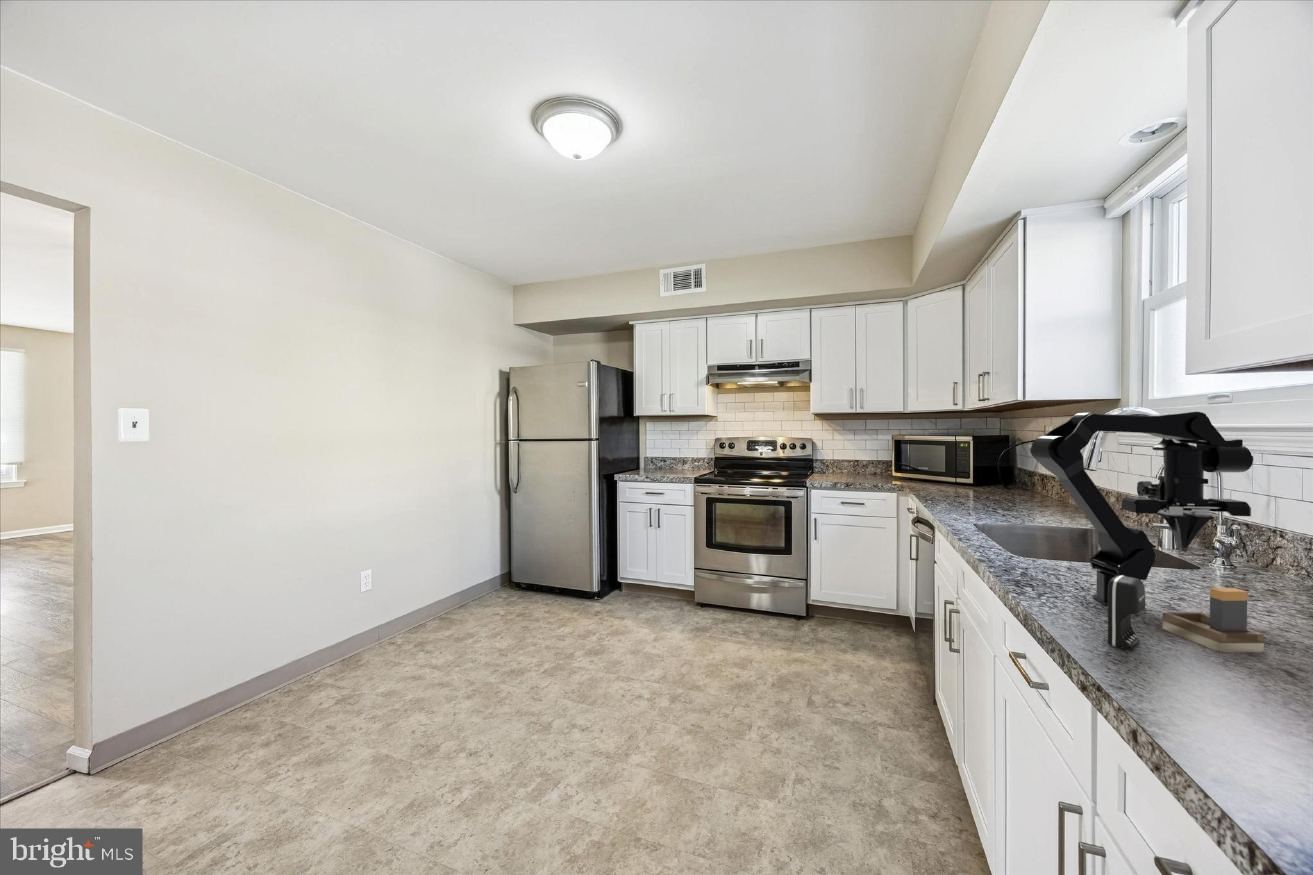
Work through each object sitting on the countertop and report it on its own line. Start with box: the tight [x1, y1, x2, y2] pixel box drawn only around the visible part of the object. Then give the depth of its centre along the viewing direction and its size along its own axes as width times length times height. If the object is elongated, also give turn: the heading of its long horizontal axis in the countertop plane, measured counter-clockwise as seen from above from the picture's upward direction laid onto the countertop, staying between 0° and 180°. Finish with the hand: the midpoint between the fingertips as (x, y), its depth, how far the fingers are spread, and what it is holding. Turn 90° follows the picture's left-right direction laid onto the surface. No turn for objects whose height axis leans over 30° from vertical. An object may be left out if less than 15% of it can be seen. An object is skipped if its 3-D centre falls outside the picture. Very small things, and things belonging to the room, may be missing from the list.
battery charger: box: [1107, 575, 1146, 650], centre depth 89 cm, size 7×4×11 cm, turn 126°
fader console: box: [1162, 611, 1265, 653], centre depth 91 cm, size 10×7×3 cm
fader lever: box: [1209, 587, 1248, 632], centre depth 88 cm, size 2×4×8 cm, turn 89°
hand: (1182, 547), depth 108 cm, fingers closed
